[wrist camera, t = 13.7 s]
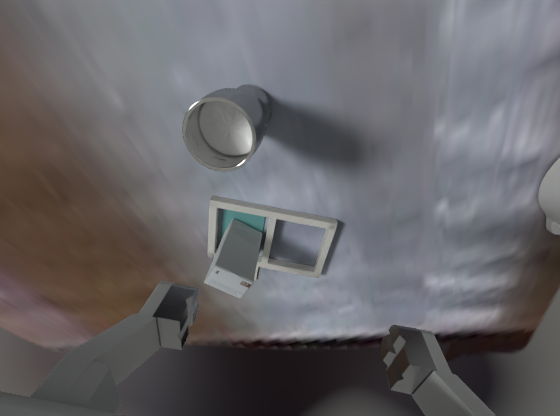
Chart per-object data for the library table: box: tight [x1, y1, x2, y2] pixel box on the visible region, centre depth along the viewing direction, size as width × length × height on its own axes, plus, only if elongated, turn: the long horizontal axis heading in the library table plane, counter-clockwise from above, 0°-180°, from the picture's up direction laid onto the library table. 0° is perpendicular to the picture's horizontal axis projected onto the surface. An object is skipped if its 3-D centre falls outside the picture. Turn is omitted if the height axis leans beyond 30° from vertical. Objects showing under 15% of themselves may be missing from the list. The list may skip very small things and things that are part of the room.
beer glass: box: [182, 85, 271, 172], centre depth 29 cm, size 7×7×15 cm
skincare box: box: [204, 218, 262, 299], centre depth 41 cm, size 6×4×12 cm
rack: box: [208, 196, 338, 280], centre depth 47 cm, size 21×17×2 cm
